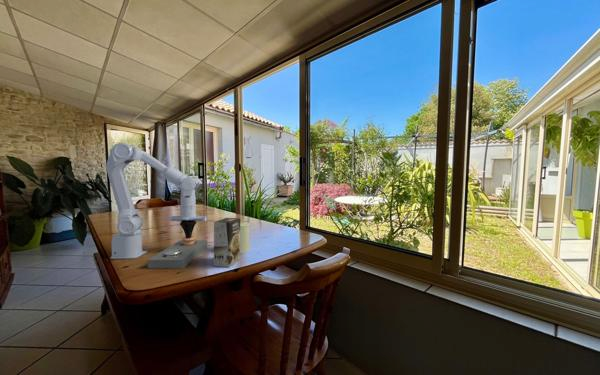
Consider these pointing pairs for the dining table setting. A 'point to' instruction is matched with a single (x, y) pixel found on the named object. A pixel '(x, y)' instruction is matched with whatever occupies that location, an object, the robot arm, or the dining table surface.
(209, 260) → the dining table surface
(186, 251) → the console
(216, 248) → the coffee box
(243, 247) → the can
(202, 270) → the dining table surface
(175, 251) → the grey plunger
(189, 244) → the tan rounded lump
